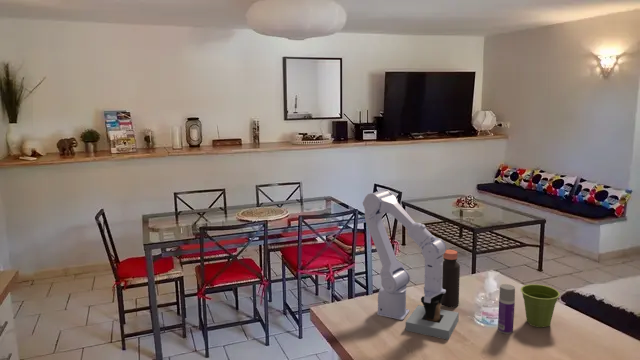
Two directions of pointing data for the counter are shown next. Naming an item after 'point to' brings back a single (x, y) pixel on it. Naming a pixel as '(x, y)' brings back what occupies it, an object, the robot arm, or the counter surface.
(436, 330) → the socket block
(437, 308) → the peg
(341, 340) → the counter surface
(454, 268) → the bottle
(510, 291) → the container
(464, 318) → the counter surface
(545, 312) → the plant pot
